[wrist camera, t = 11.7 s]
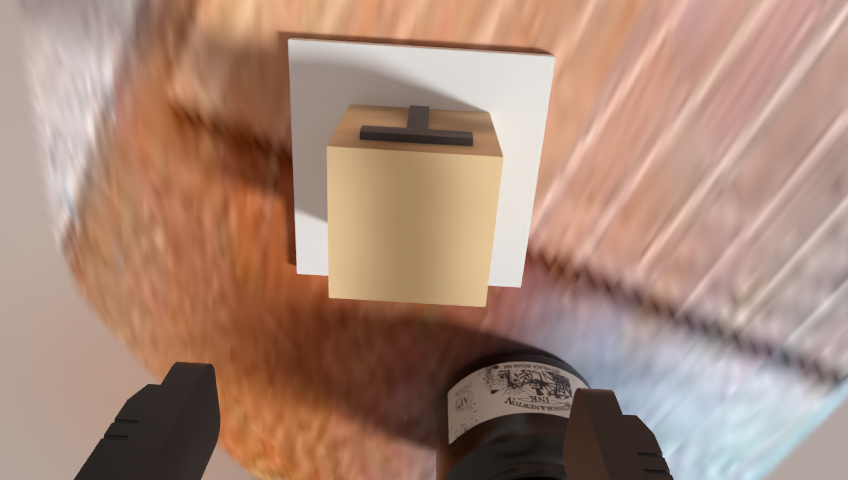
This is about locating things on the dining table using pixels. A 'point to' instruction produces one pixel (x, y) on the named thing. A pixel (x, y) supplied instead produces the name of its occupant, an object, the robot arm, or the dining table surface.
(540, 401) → the ink bottle
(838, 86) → the dining table surface
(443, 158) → the lettered block
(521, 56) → the white mat
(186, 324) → the dining table surface
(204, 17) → the dining table surface
